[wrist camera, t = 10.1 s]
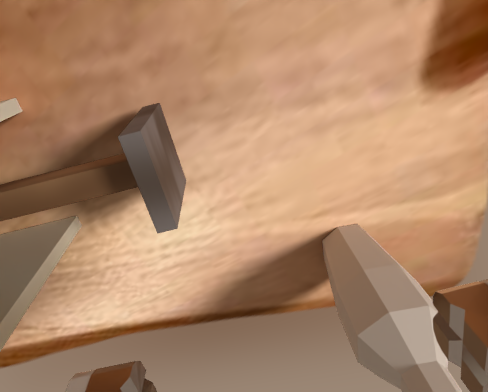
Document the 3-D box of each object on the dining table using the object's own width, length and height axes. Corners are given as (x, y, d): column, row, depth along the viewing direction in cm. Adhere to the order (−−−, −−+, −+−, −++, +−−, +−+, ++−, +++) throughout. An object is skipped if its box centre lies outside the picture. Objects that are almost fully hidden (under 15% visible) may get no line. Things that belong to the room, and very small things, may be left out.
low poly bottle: (366, 204, 31) (621, 511, 12) (388, 255, 34) (625, 575, 14) (301, 235, 32) (436, 568, 13) (327, 282, 35) (471, 618, 15)
